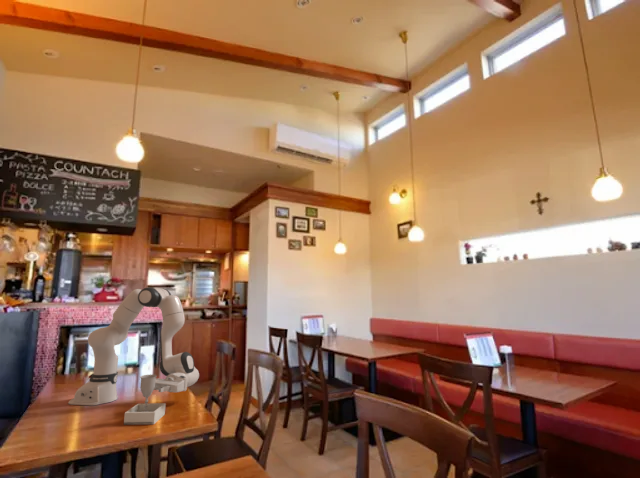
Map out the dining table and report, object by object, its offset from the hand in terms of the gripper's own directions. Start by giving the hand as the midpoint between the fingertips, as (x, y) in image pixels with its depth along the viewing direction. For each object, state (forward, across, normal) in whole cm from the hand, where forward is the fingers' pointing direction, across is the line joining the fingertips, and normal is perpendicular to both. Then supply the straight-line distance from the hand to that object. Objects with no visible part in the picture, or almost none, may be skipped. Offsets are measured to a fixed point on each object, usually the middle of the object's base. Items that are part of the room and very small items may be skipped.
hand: (152, 389), depth 164 cm
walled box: (+3, 0, +12) cm, 13 cm away
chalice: (+3, 0, +12) cm, 12 cm away
